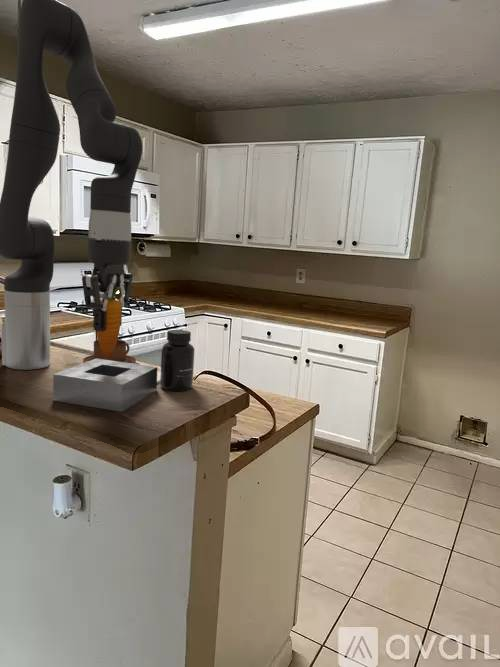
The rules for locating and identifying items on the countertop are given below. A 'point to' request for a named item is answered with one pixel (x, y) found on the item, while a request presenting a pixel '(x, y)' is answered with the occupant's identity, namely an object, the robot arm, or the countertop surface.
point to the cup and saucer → (116, 355)
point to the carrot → (110, 326)
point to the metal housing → (105, 384)
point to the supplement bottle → (177, 361)
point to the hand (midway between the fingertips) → (107, 328)
